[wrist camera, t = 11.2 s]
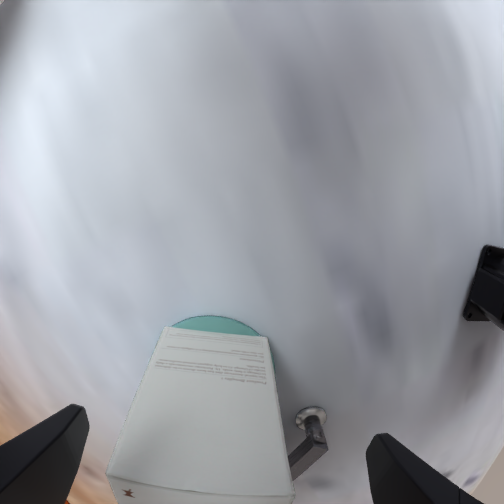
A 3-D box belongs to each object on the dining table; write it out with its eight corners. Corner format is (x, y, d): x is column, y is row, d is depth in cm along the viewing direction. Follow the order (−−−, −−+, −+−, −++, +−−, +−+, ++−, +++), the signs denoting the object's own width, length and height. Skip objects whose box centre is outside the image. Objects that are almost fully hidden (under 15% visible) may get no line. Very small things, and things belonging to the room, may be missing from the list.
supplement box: (164, 401, 23) (128, 537, 10) (163, 322, 21) (99, 473, 8) (257, 412, 23) (266, 553, 11) (272, 335, 21) (299, 498, 9)
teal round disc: (284, 323, 21) (285, 326, 21) (264, 415, 24) (264, 419, 23) (153, 307, 21) (151, 310, 20) (155, 402, 23) (154, 406, 23)
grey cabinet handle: (329, 406, 24) (340, 441, 20) (303, 467, 26) (309, 498, 22) (236, 402, 23) (235, 439, 19) (226, 464, 26) (225, 497, 22)
